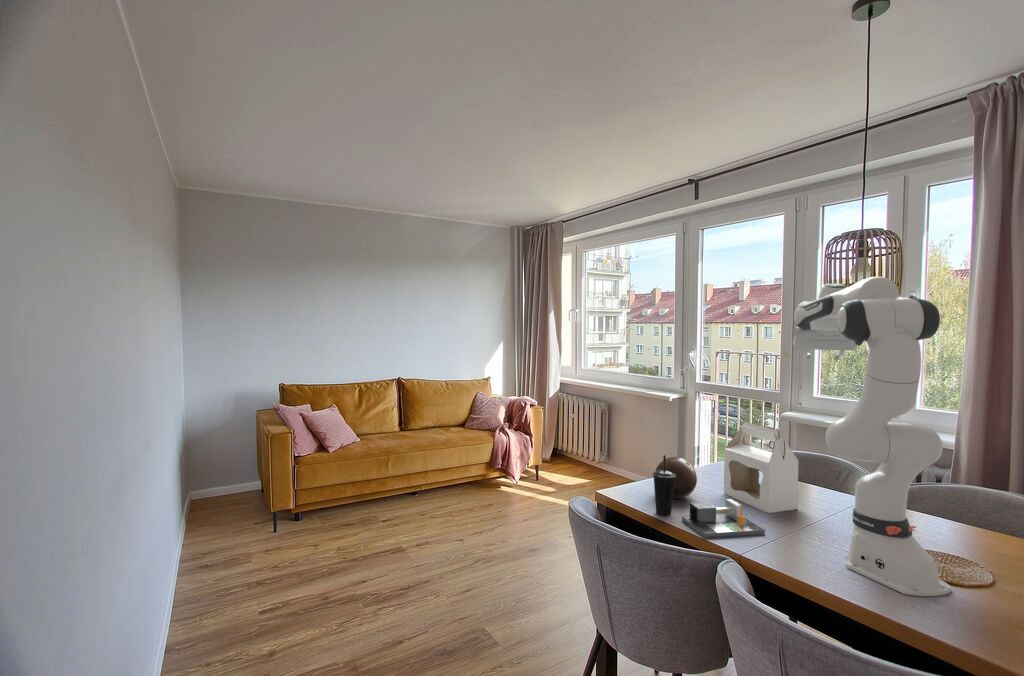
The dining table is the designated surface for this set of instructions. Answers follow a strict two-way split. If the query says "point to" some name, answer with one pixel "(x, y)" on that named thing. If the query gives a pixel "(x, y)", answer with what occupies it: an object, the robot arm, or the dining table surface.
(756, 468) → the gable box
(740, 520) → the peak needle
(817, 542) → the dining table surface
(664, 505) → the drinking cup
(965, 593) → the dining table surface
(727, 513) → the white block
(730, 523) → the gauge frame
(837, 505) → the dining table surface
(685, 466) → the wooden sphere
